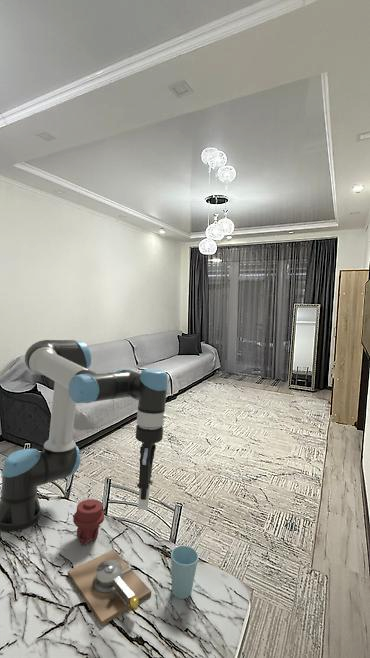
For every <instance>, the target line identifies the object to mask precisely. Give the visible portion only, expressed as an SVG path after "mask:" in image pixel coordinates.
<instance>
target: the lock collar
mask: <svg viewBox="0 0 370 658" xmlns="http://www.w3.org/2000/svg"><path fill="white" fill-rule="evenodd" d="M121 578H122V565H121V564H120V563H119V562H118V561H116V560H106V561H103V562H102V563H100V564H99V565H98V567H97V573H96V582H97V584H98V585H99V586H101V587H103V588H112V587H115V588H116V591H117V592H118V594H119V595H120V596H121V597H122V599H123V600H124V601H125V602H126V604H127V605H128V606H129V605H130V606H129V608H130V609H129V610H130V611H131V612H132V611H133V612H135V611H137V610H138V608H139V604H140V603H139V598H138V597H137V596H135V594H134V593H133V592H132V591H131V589H130V588H129V587H128V586H127V585H126V584H125V582H124V581H123V580H122V579H121Z"/></svg>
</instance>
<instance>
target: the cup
mask: <svg viewBox="0 0 370 658" xmlns="http://www.w3.org/2000/svg"><path fill="white" fill-rule="evenodd" d="M170 559H171V560H170V562H171V564H170V565H171V566H170V567H171V568H170V569H171V593H172V595H173V596H174V597H175V598H177V599H179V600H180V599H181V600H186V599H189V597H190V596H191V594H192V591H193V585H194V581H195V575H196V571H197V565H198V561H199V553H198V552H197V550H196V549H195V548H193V547H191V546H188V545H177V546H176V547H174V548H173V549H172V551H171V553H170Z"/></svg>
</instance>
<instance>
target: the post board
mask: <svg viewBox="0 0 370 658" xmlns="http://www.w3.org/2000/svg"><path fill="white" fill-rule="evenodd" d="M106 560H116V561H118V562H119V563H120V564H121V565H122V578H121V579H122V580H123V581H124V582H125V584H126V585H127V586H128V587H129V588H130V589H131V591H132V592H133V593H134V594H135V596H137V597H138V598H139V603H138V604H140V603H141V602H143V601H144V600H145V599H147V598H149V597H150V596H152V590H151V589H150V588H149V587H148V586H147V585H146V583H145V582H144V581H143V580H142V579H141V578H140V577H139V576H138V575H137V573H136V572H135V571H134V570H133V569H132V568H131V567H130V566H129V565H128V563H127V562H126V561H125V560H124V559H123V558H122V557H121V556H120V555H119V553H117V551H115V549H112V550H110V551H108V552H105V553H103V554H101V555H99V556H97V557H95V558H92V559H90V560H88V561H86V562H84V563H82V564H80V565H78V566H75V567H73V568H71V569H69V570H67V576H68V578H69V579H70V582H71V583H72V584H73V586H74V587H75V589H76V590H77V591H78V593H79V594H80V596H81V598H82V599H83V601H84V602H85V604H86V605H87V607H88V609H90V611H91V613H92V614H93V615H94V616H95V619H96V620H97V621H98V624H99V625H100V626H101V627H104V626H105V625H106V624H108V623H110V622H111V621H113V620H114V619H116V618H117V617H118V616H120V615H122V614H124V613H126V612H127V611H128V610H130V608H129V606H130V605H129V606H128V605H127V604H126V602H125V601H124V600H123V599H122V597H121V596H120V595H119V594H118V592H117V591H116V588H115V587H112V588H103V587H101V586H99V585H98V584H97V582H96V573H97V567H98V565H99V564H100V563H102V562H103V561H106Z"/></svg>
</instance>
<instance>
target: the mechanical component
mask: <svg viewBox="0 0 370 658" xmlns="http://www.w3.org/2000/svg"><path fill="white" fill-rule="evenodd" d="M72 518H73V519H72V522H73V524H74V525H75V526H76V527H77V529H76V537H77V539H78V540H80V545H82V546H85V545H86V544H87V543H90V541H92V540H96V539H97V538H98V535H99V528H100V525H102V523H104V520H105V512H104V510H103V502H101V500H98V499H91V498H90V499H84V500H82V501H80V502H79V503H78V504H77V505H76V511H75V512H74V514H73V517H72Z"/></svg>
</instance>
